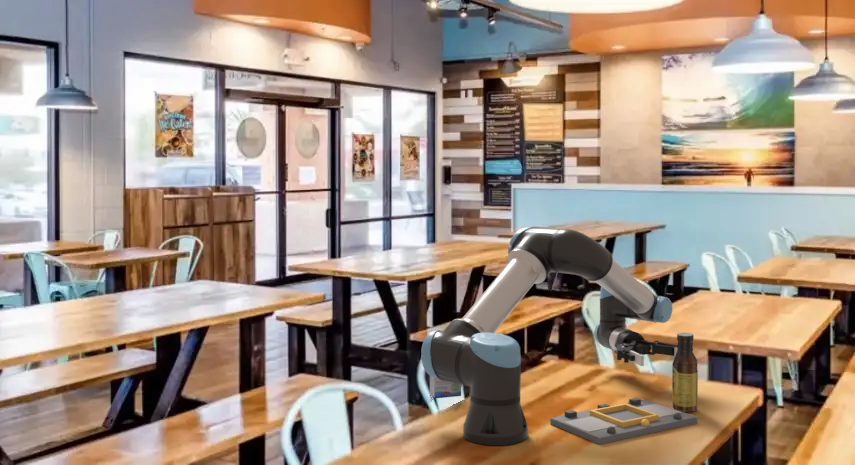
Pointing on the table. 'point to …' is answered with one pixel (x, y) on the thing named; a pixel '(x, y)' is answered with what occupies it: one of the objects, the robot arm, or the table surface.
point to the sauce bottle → (685, 375)
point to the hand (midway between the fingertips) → (665, 359)
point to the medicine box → (444, 388)
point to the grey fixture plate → (622, 420)
